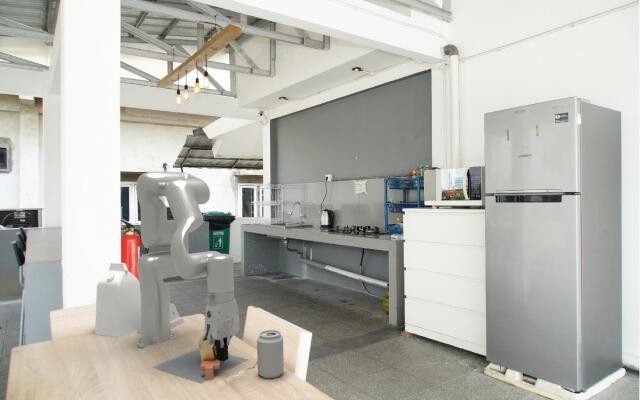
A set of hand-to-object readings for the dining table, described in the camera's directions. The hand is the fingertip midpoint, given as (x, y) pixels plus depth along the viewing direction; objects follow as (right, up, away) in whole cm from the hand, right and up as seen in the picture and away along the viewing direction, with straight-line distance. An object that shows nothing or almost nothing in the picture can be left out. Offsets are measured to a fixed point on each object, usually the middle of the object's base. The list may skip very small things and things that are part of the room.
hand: (222, 359), depth 128 cm
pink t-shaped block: (-2, -4, -5) cm, 7 cm away
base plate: (-7, -4, +3) cm, 8 cm away
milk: (-48, -4, +39) cm, 61 cm away
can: (+14, -4, -2) cm, 15 cm away
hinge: (-32, -3, +42) cm, 53 cm away
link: (-3, -2, +2) cm, 4 cm away
